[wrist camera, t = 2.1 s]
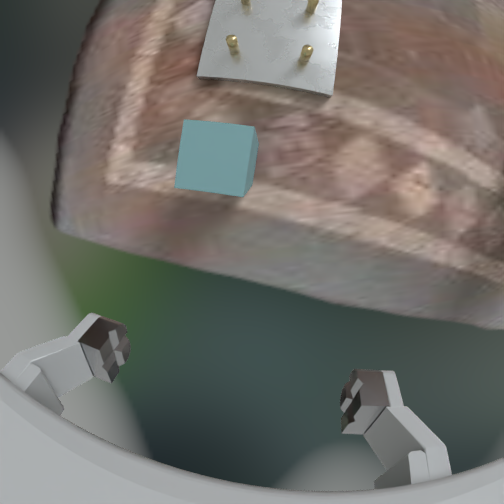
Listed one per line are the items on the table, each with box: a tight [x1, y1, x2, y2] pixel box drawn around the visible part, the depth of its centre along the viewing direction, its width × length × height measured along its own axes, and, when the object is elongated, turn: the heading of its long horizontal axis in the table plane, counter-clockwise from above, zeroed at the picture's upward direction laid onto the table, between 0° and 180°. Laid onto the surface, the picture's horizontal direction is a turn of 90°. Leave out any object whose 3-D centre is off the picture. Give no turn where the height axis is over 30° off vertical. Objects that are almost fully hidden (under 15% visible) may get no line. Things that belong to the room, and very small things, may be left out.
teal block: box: [174, 120, 259, 197], centre depth 25 cm, size 5×5×14 cm
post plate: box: [197, 0, 342, 98], centre depth 24 cm, size 16×16×5 cm
